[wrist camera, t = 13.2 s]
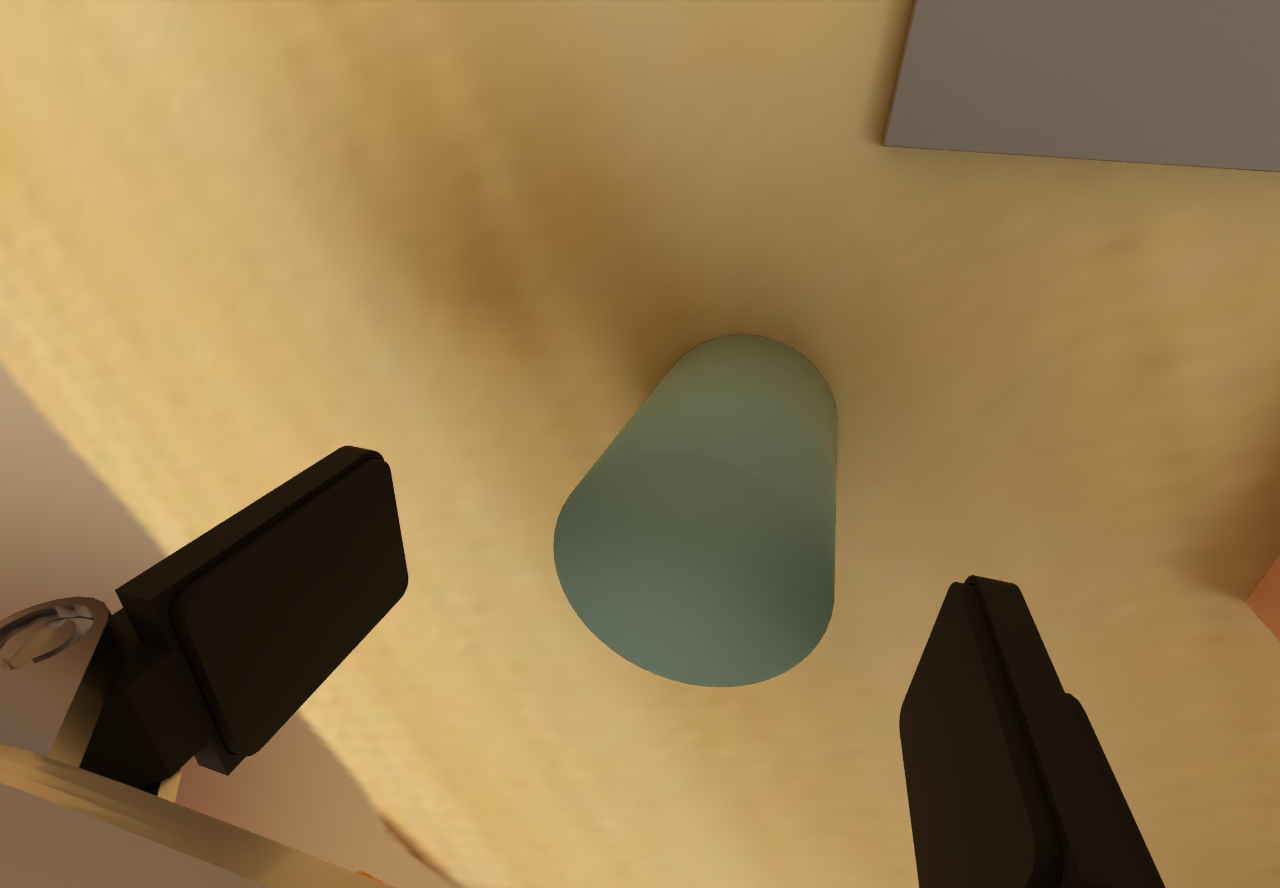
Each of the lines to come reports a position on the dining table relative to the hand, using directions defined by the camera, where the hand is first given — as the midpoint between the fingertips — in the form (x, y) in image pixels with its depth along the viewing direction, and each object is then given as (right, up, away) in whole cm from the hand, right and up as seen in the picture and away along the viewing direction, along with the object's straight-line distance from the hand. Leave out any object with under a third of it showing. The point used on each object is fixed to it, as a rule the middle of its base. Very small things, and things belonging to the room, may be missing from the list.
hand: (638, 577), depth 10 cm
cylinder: (+3, +3, +7) cm, 8 cm away
